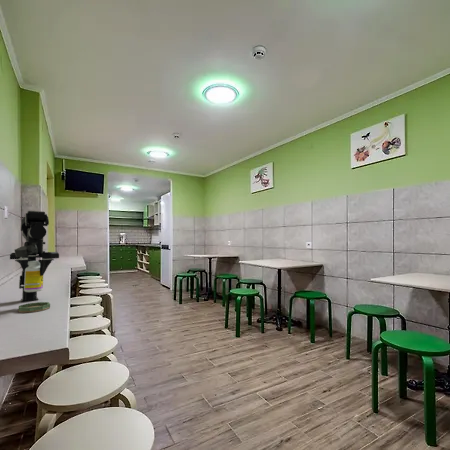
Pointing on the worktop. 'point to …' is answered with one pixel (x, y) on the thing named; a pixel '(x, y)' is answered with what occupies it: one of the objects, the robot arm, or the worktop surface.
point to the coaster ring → (34, 307)
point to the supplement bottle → (33, 277)
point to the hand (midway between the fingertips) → (34, 275)
